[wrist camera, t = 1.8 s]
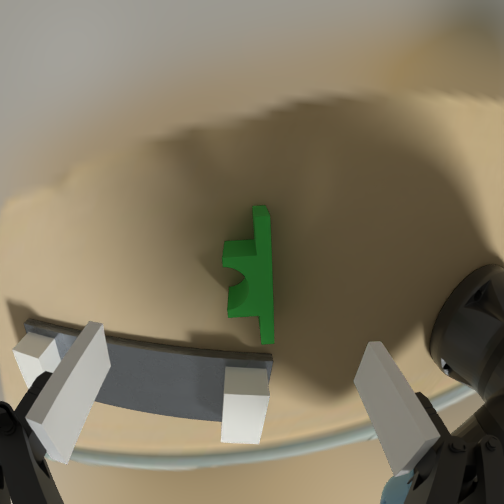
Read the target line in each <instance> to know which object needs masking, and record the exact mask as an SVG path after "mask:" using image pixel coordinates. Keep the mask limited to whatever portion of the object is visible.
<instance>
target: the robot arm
mask: <svg viewBox="0 0 504 504" xmlns="http://www.w3.org/2000/svg"><path fill="white" fill-rule="evenodd" d="M430 352H431V356H432V359H433V360H434V362H435V363H436V364H437V366H438V367H439V368H440V369H441V371H442V372H443V373H445V374H446V375H447V376H449V377H451V378H453V379H455V380H457V381H459V382H461V383H462V384H464V385H466V386H468V387H470V388H472V389H474V390H475V391H476V392H477V393H478V394H479V395H480V396H481V397H482V399H483V400H484V402H485V404H484V405H483V406H482V407H481V408H480V409H478V410H477V411H476V412H475V413H474V414H473V415H472V416H471V417H470V418H469V419H467V420H466V421H465V422H464V423H463V424H462V425H461V426H460V427H458V428H457V429H456V430H455V431H454V432H452V433H451V434H450V433H449V431H448V430H447V428H446V426H445V425H444V423H443V421H442V420H441V418H440V417H439V415H438V414H437V412H436V410H435V409H434V408H433V406H432V404H431V403H430V401H429V399H428V398H427V397H426V396H424V395H423V394H422V393H421V392H417V393H414V391H413V390H412V388H411V386H410V385H409V383H408V382H407V380H406V379H405V377H404V375H403V374H402V372H401V371H400V369H399V368H398V366H397V365H396V363H395V362H394V360H393V359H392V357H391V356H390V354H389V352H388V351H387V349H386V348H385V346H384V345H383V343H382V342H381V341H373V342H368V344H367V347H366V350H365V352H364V355H363V358H362V360H361V363H360V365H359V368H358V371H357V373H356V376H355V378H354V380H353V382H354V384H355V386H356V388H357V390H358V393H359V395H360V397H361V399H362V402H363V404H364V406H365V408H366V411H367V413H368V415H369V417H370V420H371V422H372V424H373V427H374V429H375V431H376V434H377V436H378V438H379V441H380V443H381V445H382V448H383V450H384V452H385V455H386V457H387V460H388V462H389V465H390V467H391V469H392V472H393V474H394V476H393V477H391V478H390V479H389V481H388V482H387V483H386V485H385V487H384V489H383V492H382V496H381V502H380V504H504V268H502V267H501V266H498V265H487V266H484V267H481V268H479V269H477V270H476V271H474V272H473V273H471V274H470V275H469V276H468V277H467V278H465V279H464V280H463V281H462V282H461V283H460V284H459V285H458V287H457V288H456V289H455V290H454V291H453V293H452V294H451V295H450V297H449V298H448V300H447V301H446V303H445V305H444V306H443V308H442V310H441V312H440V314H439V316H438V318H437V320H436V322H435V325H434V328H433V331H432V335H431V341H430ZM110 367H111V364H110V359H109V354H108V350H107V344H106V339H105V334H104V328H103V323H97V322H92V321H89V322H88V324H87V325H86V326H85V328H84V329H83V330H82V332H81V333H80V335H79V336H78V337H77V339H76V340H75V342H74V343H73V344H72V346H71V347H70V349H69V350H68V352H67V353H66V354H65V356H64V357H63V359H62V360H61V362H60V363H59V365H58V366H57V368H56V369H55V371H54V372H53V373H51V372H48V371H45V372H43V373H42V374H40V375H39V376H38V377H37V378H36V379H35V381H34V382H33V383H32V386H30V388H29V389H28V392H27V393H26V394H25V395H24V397H23V399H22V400H21V402H20V403H19V405H18V406H17V408H16V409H15V411H13V409H12V407H11V406H10V405H9V404H8V403H6V402H3V401H0V504H11V501H10V497H11V500H12V503H13V504H64V503H63V500H62V498H61V496H60V494H59V492H58V489H57V487H56V485H55V482H54V480H53V478H52V475H51V473H50V470H49V468H48V465H47V462H46V460H45V458H44V456H45V454H46V452H47V453H48V454H49V456H50V457H51V458H52V459H54V460H56V461H59V462H62V463H64V464H68V461H69V459H70V456H71V454H72V451H73V449H74V446H75V444H76V442H77V439H78V437H79V434H80V432H81V430H82V427H83V425H84V423H85V421H86V418H87V416H88V414H89V412H90V409H91V407H92V405H93V403H94V401H95V398H96V396H97V394H98V392H99V390H100V388H101V386H102V383H103V381H104V379H105V377H106V375H107V373H108V371H109V369H110Z"/></svg>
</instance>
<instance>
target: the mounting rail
mask: <svg viewBox="0 0 504 504" xmlns="http://www.w3.org/2000/svg"><path fill="white" fill-rule="evenodd" d="M24 326H25V329H26V333H27V334H26V335H25V336H24V337H23V338H22V339H21V341H20V342H19V343H18V344H17V345H16V346H15V347H14V348H13V349H12V350H13V353H14V356H15V358H16V361H17V363H18V366H19V368H20V371H21V373H22V376H23V378H24V380H25V383H26V385H27V387H28V389H29V388H30V386H32V383H33V382H34V381H35V379H36V378H37V377H38V376H39V375H40V374H42V373H43V372H45V371H48V372H51V373H53V372H54V371H55V369H56V368H57V366H58V365H59V363H60V362H61V360H62V359H63V357H64V356H65V354H66V353H67V352H68V350H69V349H70V347H71V346H72V344H73V343H74V342H75V340H76V339H77V337H78V336H79V335H80V333H81V332H82V331H80V330H75V329H71V328H66V327H62V326H58V325H53V324H49V323H45V322H41V321H37V320H33V319H30V318H29V319H28V320H27V321H26V322H25V323H24ZM105 339H106V344H107V350H108V354H109V359H110V364H111V367H110V369H109V371H108V373H107V375H106V377H105V379H104V381H103V383H102V386H101V388H100V390H99V392H98V394H97V396H96V398H95V401H96V402H100V403H104V404H108V405H113V406H117V407H122V408H126V409H131V410H136V411H142V412H147V413H153V414H159V415H166V416H173V417H180V418H188V419H197V420H207V421H219V422H222V428H221V442H225V443H246V444H259V442H260V437H261V433H262V429H263V425H264V420H265V416H266V411H267V407H268V402H269V398H270V393H269V380H270V375H271V370H272V364H273V358H272V354H264V353H245V352H231V351H218V350H207V349H197V348H187V347H179V346H170V345H163V344H155V343H148V342H141V341H135V340H129V339H123V338H117V337H111V336H105Z"/></svg>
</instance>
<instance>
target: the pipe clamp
mask: <svg viewBox="0 0 504 504" xmlns="http://www.w3.org/2000/svg"><path fill="white" fill-rule="evenodd" d="M252 210H253V227H254V239H250V240H235V241H225V242H224V249H223V255H222V263H223V267H229V268H233V269H235V270H237V271H239V272H240V273H242V274H243V275H244V277H245V278H244V280H243V281H242V282H241V283H239V284H238V285H235V286H232V287H229V293H228V307H227V312H228V318H233V317H249V316H259V326H260V335H261V344H262V345H264V344H274V307H273V275H272V247H271V223H270V214H269V212H268V210H267V208H266V206H265V205H260V206H252Z"/></svg>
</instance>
